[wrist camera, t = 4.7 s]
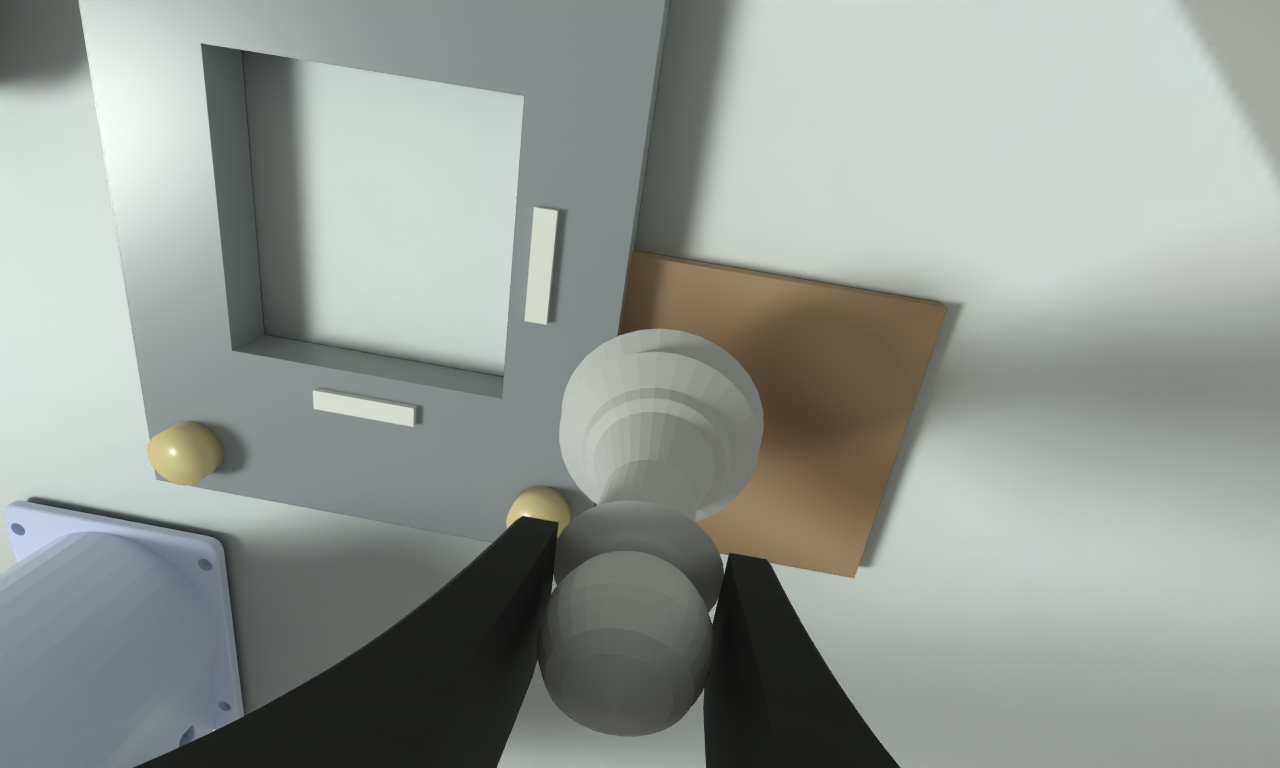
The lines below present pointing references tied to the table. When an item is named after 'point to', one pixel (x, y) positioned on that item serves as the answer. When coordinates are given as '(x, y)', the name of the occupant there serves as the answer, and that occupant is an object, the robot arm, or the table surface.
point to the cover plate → (345, 379)
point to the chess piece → (644, 527)
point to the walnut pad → (800, 397)
